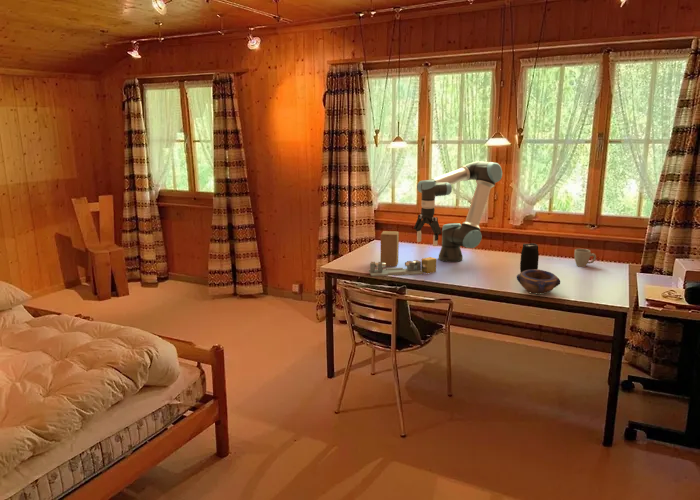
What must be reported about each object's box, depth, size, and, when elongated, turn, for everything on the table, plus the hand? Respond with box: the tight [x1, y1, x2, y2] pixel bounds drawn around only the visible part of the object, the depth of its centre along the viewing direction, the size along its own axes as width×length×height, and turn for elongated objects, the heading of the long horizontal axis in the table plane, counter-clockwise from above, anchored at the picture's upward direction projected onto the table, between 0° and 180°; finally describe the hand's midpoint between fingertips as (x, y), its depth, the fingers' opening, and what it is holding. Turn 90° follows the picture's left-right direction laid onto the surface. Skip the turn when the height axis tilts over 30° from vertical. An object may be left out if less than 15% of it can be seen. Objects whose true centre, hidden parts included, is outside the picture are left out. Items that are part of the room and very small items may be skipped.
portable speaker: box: [519, 242, 540, 273], centre depth 289 cm, size 9×9×20 cm
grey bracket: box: [369, 261, 387, 273], centre depth 303 cm, size 9×4×6 cm, turn 81°
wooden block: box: [379, 230, 400, 267], centre depth 321 cm, size 10×10×20 cm
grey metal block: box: [404, 259, 422, 272], centre depth 305 cm, size 9×4×6 cm, turn 111°
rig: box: [368, 267, 424, 277], centre depth 304 cm, size 30×10×2 cm, turn 96°
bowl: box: [516, 269, 561, 295], centre depth 266 cm, size 18×18×10 cm
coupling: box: [421, 256, 437, 275], centre depth 305 cm, size 9×5×8 cm, turn 125°
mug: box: [574, 248, 597, 268], centre depth 315 cm, size 12×9×10 cm
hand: (427, 243), depth 302 cm, fingers open, 13 cm apart
